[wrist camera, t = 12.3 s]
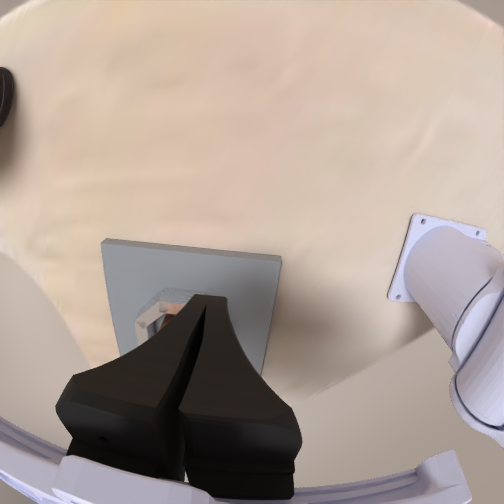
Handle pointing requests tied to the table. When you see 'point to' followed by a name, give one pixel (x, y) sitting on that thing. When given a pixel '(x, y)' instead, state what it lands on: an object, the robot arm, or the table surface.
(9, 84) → the camera lens
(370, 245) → the table surface
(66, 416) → the robot arm
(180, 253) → the base plate
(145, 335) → the ring socket
